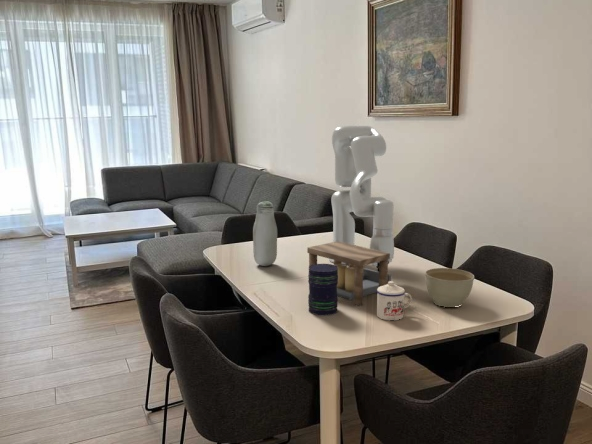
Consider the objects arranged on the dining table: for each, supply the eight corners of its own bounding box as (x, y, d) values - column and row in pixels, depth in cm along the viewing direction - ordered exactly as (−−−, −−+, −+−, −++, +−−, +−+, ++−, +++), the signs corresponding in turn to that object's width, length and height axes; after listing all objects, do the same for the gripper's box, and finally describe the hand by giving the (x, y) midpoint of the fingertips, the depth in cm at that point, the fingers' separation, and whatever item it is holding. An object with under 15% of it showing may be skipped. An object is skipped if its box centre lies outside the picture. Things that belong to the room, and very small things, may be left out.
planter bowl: (464, 315, 185) (466, 283, 183) (417, 306, 194) (418, 276, 192) (477, 301, 199) (479, 271, 197) (433, 294, 207) (434, 265, 205)
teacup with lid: (383, 322, 179) (384, 287, 177) (371, 313, 188) (372, 279, 186) (417, 318, 183) (418, 283, 180) (404, 309, 191) (405, 276, 189)
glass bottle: (263, 269, 240) (263, 204, 234) (249, 264, 247) (248, 201, 242) (281, 265, 246) (281, 201, 241) (267, 261, 254) (266, 199, 248)
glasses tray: (364, 280, 224) (365, 255, 223) (390, 287, 215) (391, 262, 213) (325, 291, 210) (325, 265, 208) (351, 300, 201) (351, 272, 199)
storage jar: (315, 317, 184) (316, 272, 181) (303, 308, 193) (303, 265, 190) (342, 313, 188) (343, 269, 185) (329, 304, 197) (329, 262, 194)
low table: (337, 280, 224) (337, 241, 221) (388, 296, 205) (389, 253, 202) (307, 288, 214) (307, 247, 210) (358, 306, 194) (359, 261, 191)
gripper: (387, 228, 225) (386, 273, 229) (362, 233, 215) (361, 280, 219) (402, 231, 220) (401, 276, 223) (377, 236, 210) (376, 284, 213)
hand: (381, 278), depth 221 cm, fingers closed
